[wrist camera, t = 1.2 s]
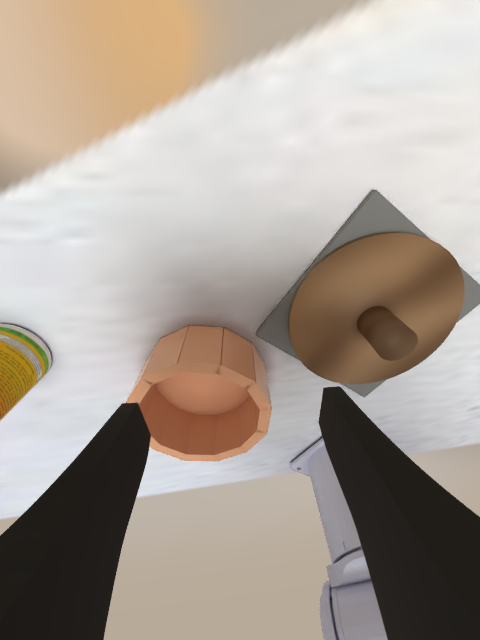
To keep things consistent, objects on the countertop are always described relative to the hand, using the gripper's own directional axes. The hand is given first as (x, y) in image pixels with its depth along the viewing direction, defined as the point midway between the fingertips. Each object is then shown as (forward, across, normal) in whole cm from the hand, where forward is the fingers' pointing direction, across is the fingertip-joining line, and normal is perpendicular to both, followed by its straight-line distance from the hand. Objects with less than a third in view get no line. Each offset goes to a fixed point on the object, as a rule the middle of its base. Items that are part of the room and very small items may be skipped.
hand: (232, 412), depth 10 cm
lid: (+9, -10, +2) cm, 14 cm away
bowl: (+10, +3, +7) cm, 12 cm away
